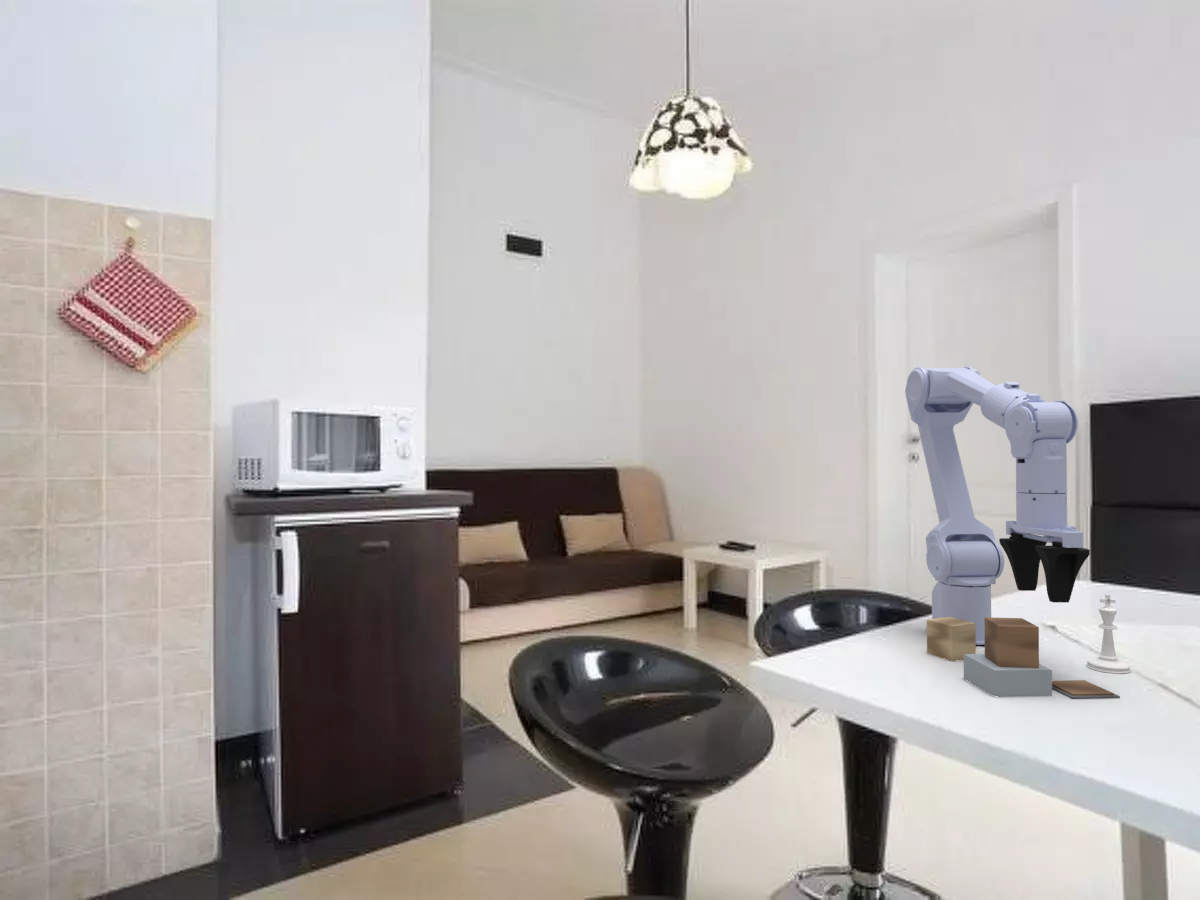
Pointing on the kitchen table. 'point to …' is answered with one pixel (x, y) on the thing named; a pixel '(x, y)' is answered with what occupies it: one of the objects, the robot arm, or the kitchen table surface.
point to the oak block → (951, 638)
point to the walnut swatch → (1081, 689)
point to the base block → (1007, 678)
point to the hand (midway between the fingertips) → (1042, 595)
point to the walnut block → (1012, 642)
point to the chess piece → (1108, 643)
